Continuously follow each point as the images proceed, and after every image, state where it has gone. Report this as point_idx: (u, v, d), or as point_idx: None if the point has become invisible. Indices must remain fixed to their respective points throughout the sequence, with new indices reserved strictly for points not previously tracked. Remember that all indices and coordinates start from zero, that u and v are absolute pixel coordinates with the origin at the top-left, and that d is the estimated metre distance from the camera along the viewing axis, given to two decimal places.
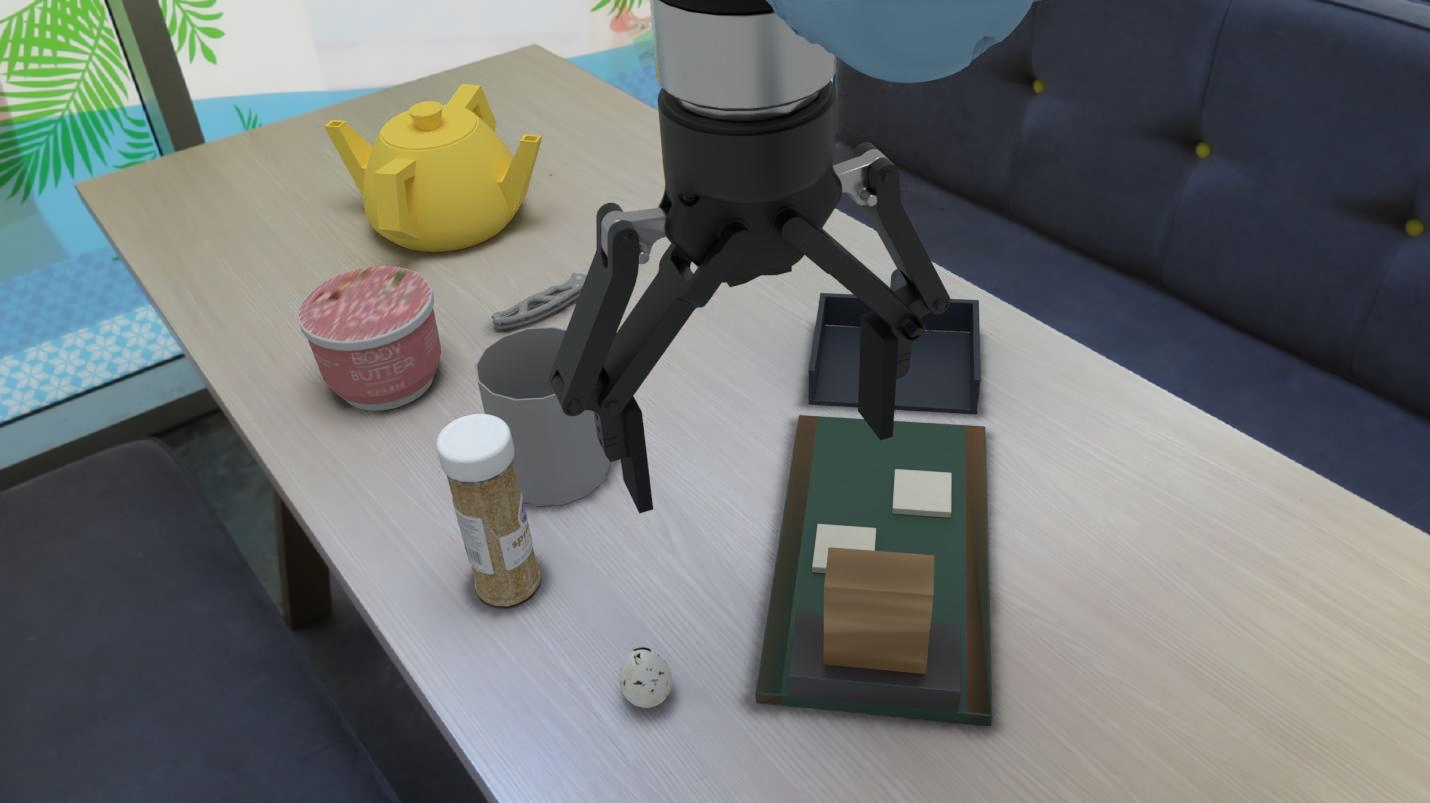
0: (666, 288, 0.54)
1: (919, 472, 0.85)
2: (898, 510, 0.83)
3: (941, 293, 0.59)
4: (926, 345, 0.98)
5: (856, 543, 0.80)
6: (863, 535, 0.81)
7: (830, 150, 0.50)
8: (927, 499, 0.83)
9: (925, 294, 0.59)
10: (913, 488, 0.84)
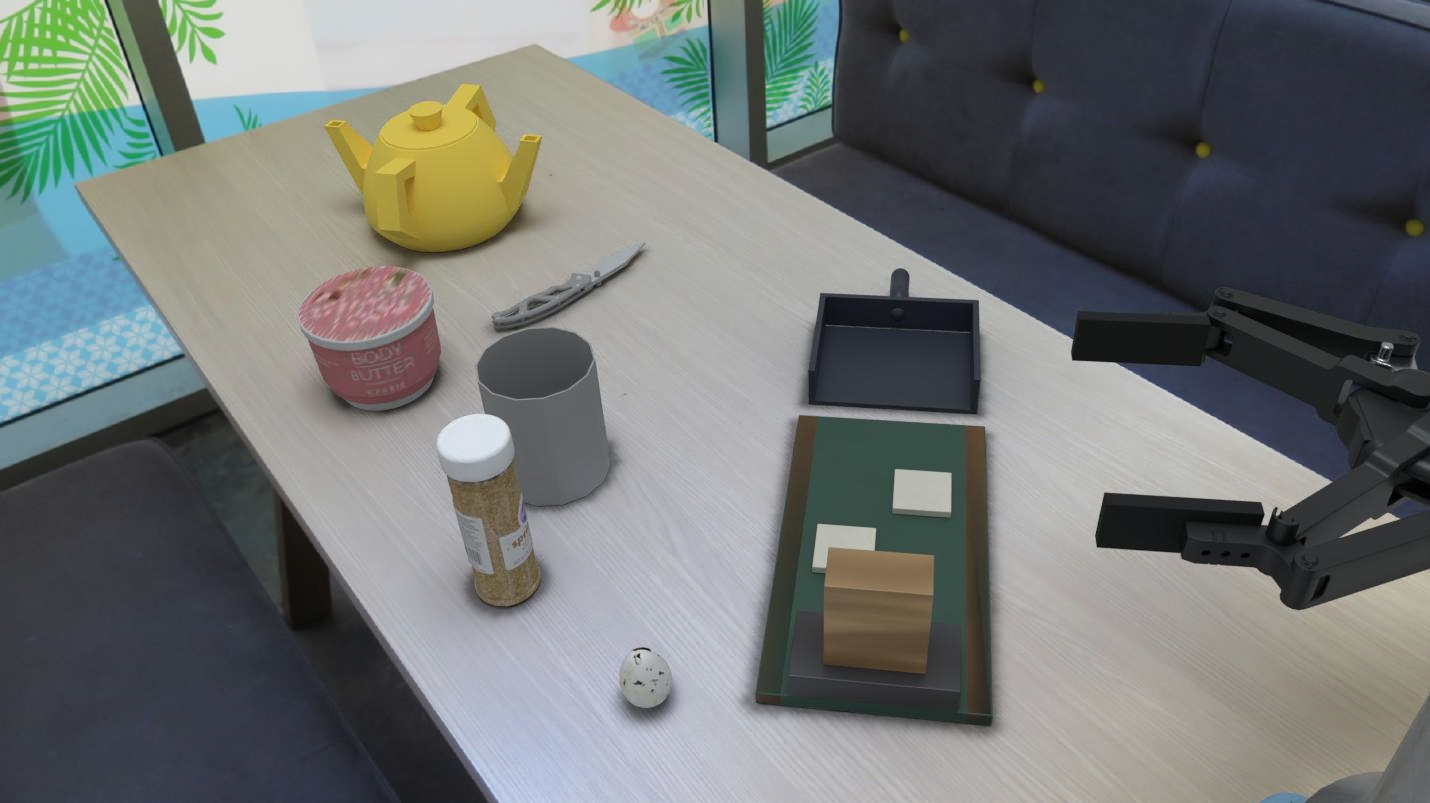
0: None
1: (919, 472, 0.85)
2: (898, 510, 0.83)
3: (1326, 562, 0.49)
4: (926, 345, 0.98)
5: (856, 543, 0.80)
6: (863, 535, 0.81)
7: None
8: (927, 499, 0.83)
9: (1326, 546, 0.49)
10: (913, 488, 0.84)
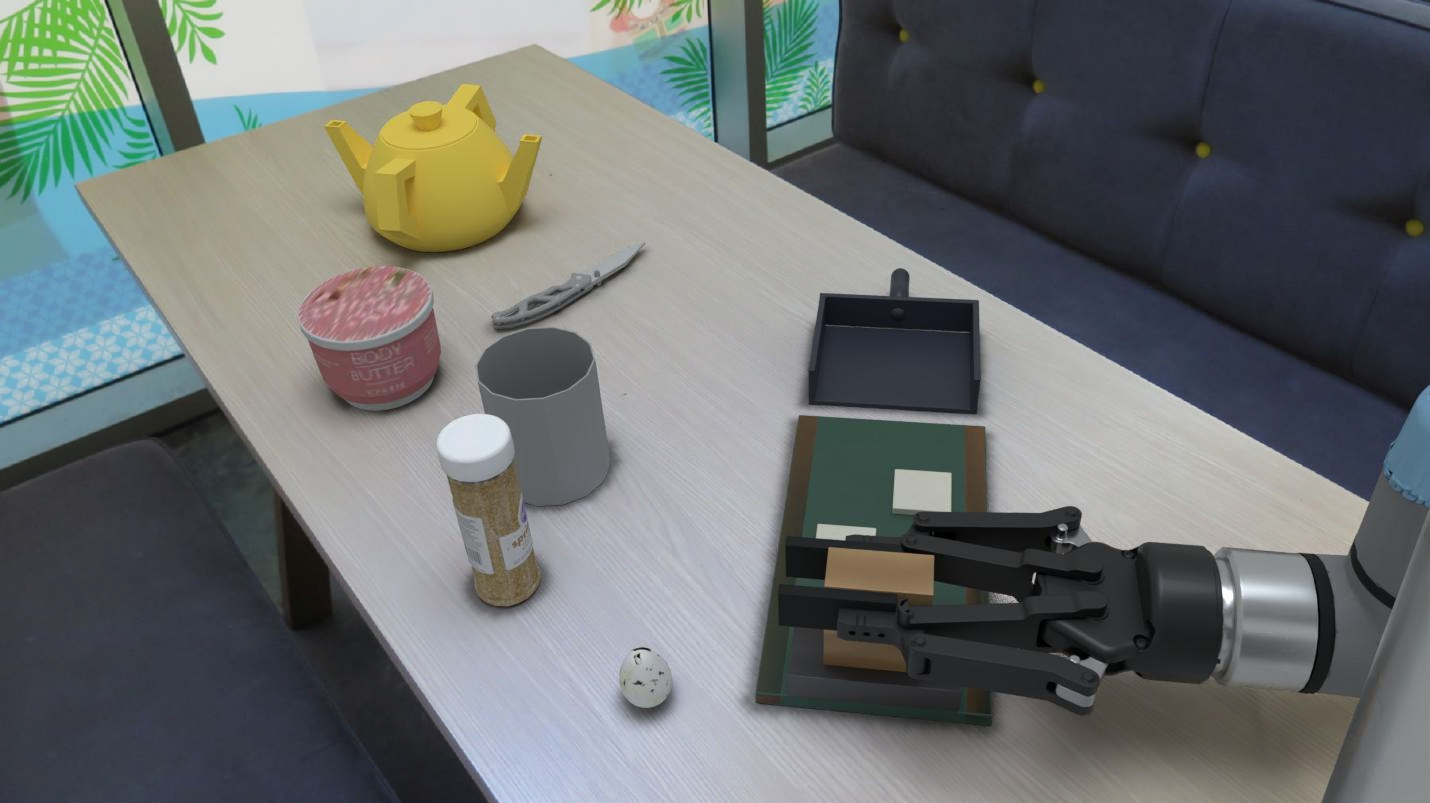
0: None
1: (919, 472, 0.85)
2: (898, 510, 0.83)
3: (929, 648, 0.63)
4: (926, 345, 0.98)
5: None
6: None
7: (1177, 617, 0.62)
8: (927, 499, 0.83)
9: (942, 639, 0.63)
10: (913, 488, 0.84)
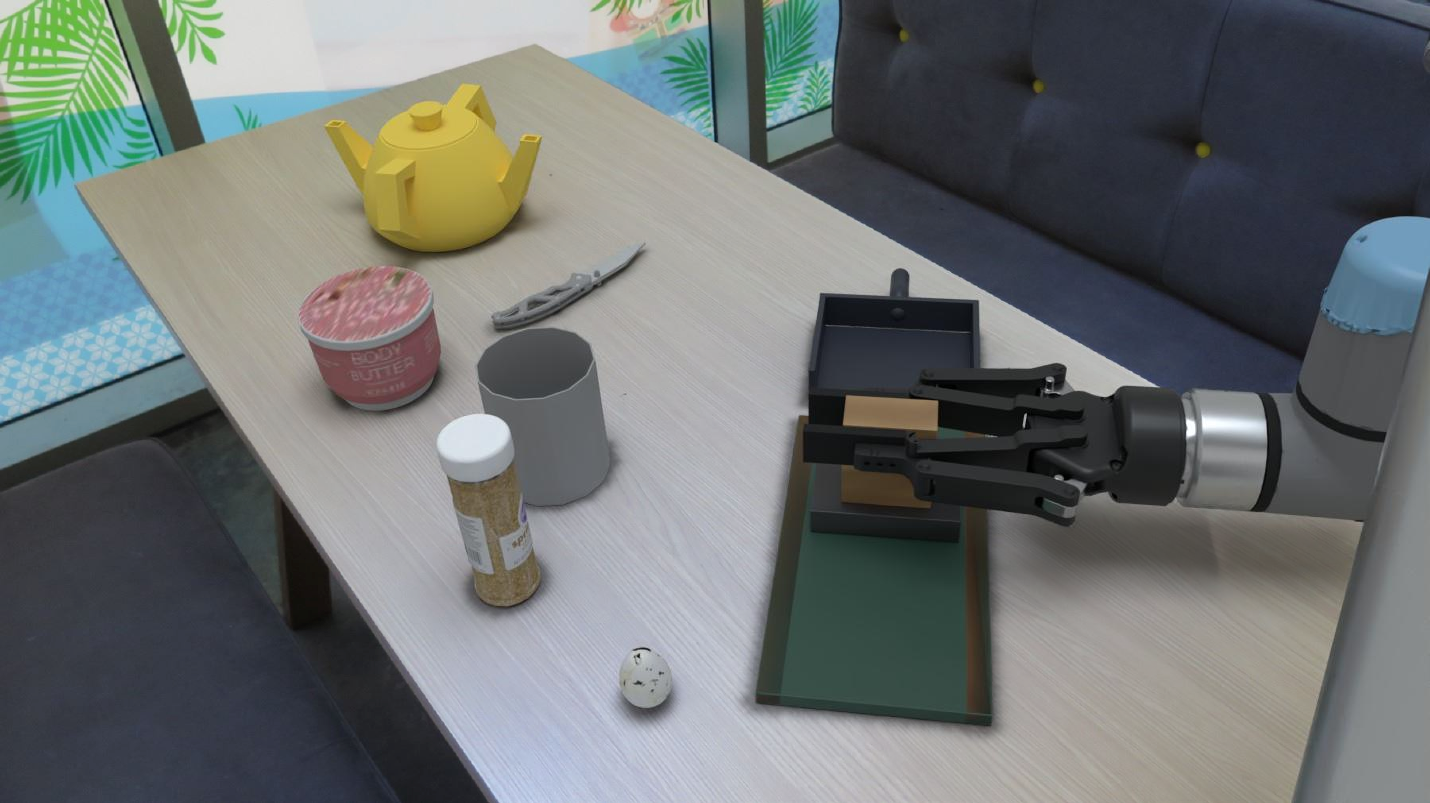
0: None
1: None
2: None
3: (934, 470, 0.73)
4: (926, 345, 0.98)
5: None
6: None
7: (1146, 442, 0.72)
8: None
9: (945, 464, 0.74)
10: None
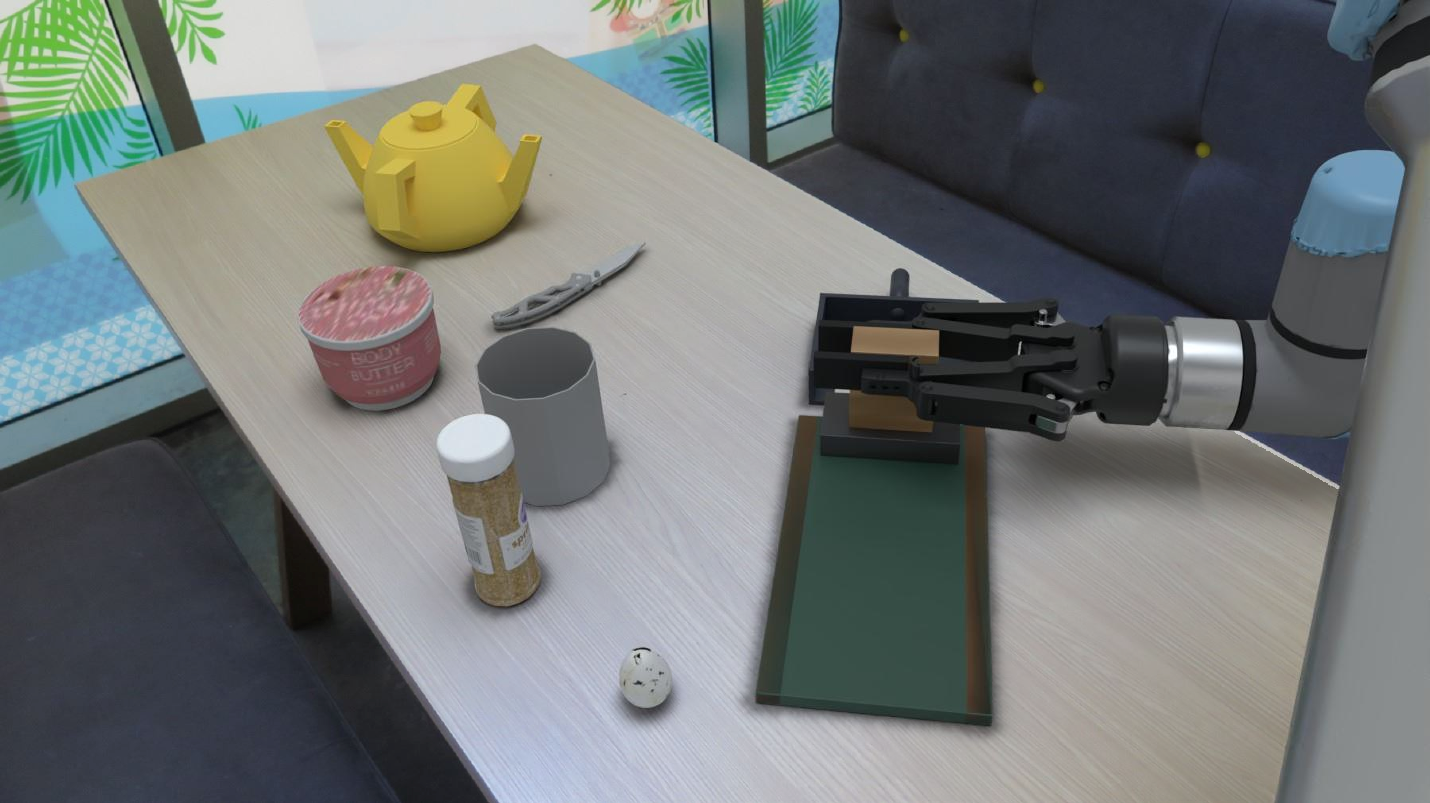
0: None
1: None
2: None
3: (935, 391, 0.79)
4: None
5: None
6: None
7: (1132, 363, 0.78)
8: None
9: (945, 385, 0.80)
10: None
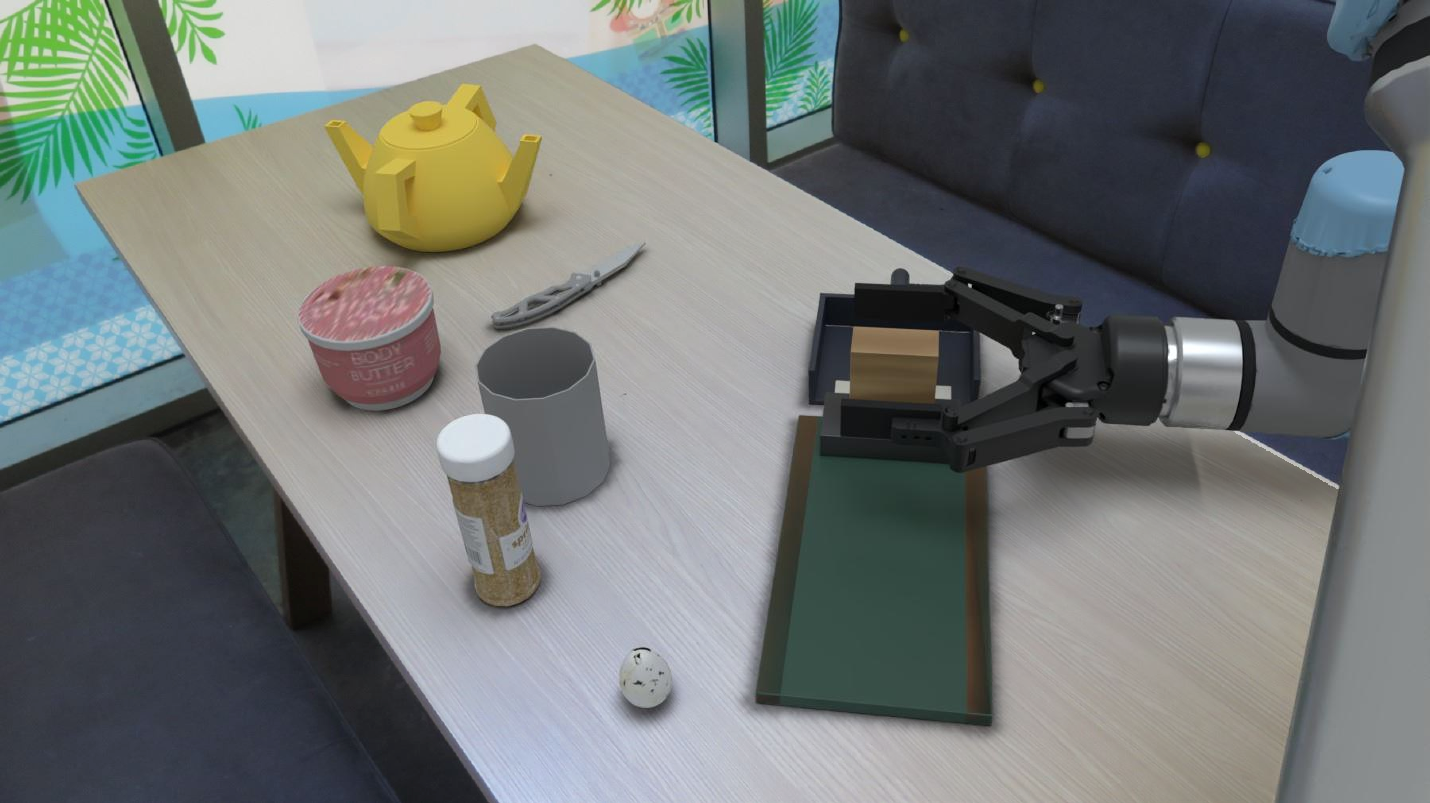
0: None
1: None
2: None
3: (972, 439, 0.75)
4: None
5: None
6: None
7: (1131, 363, 0.78)
8: None
9: (975, 430, 0.76)
10: None
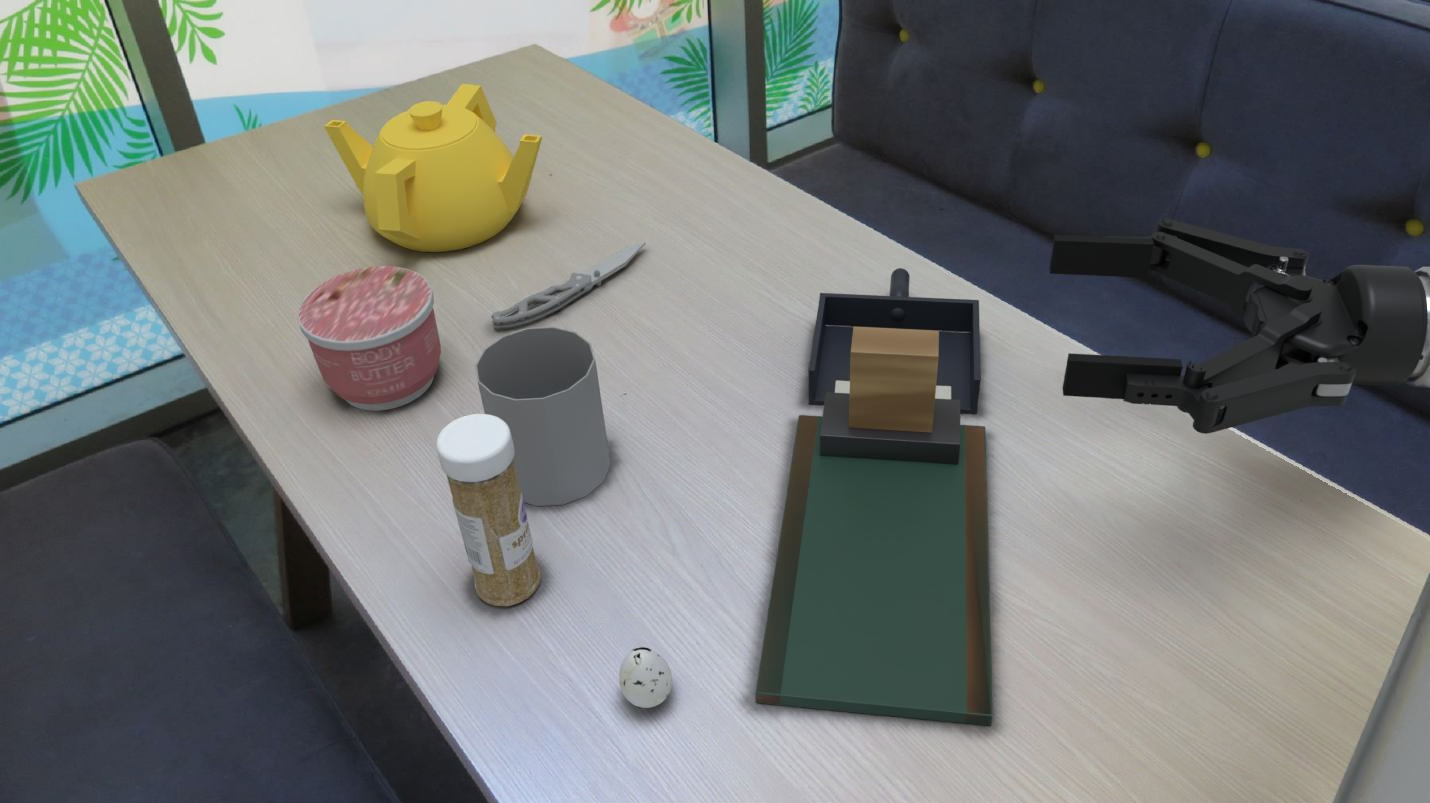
0: None
1: None
2: None
3: (1223, 396, 0.69)
4: None
5: None
6: None
7: (1388, 315, 0.71)
8: None
9: (1225, 386, 0.69)
10: None
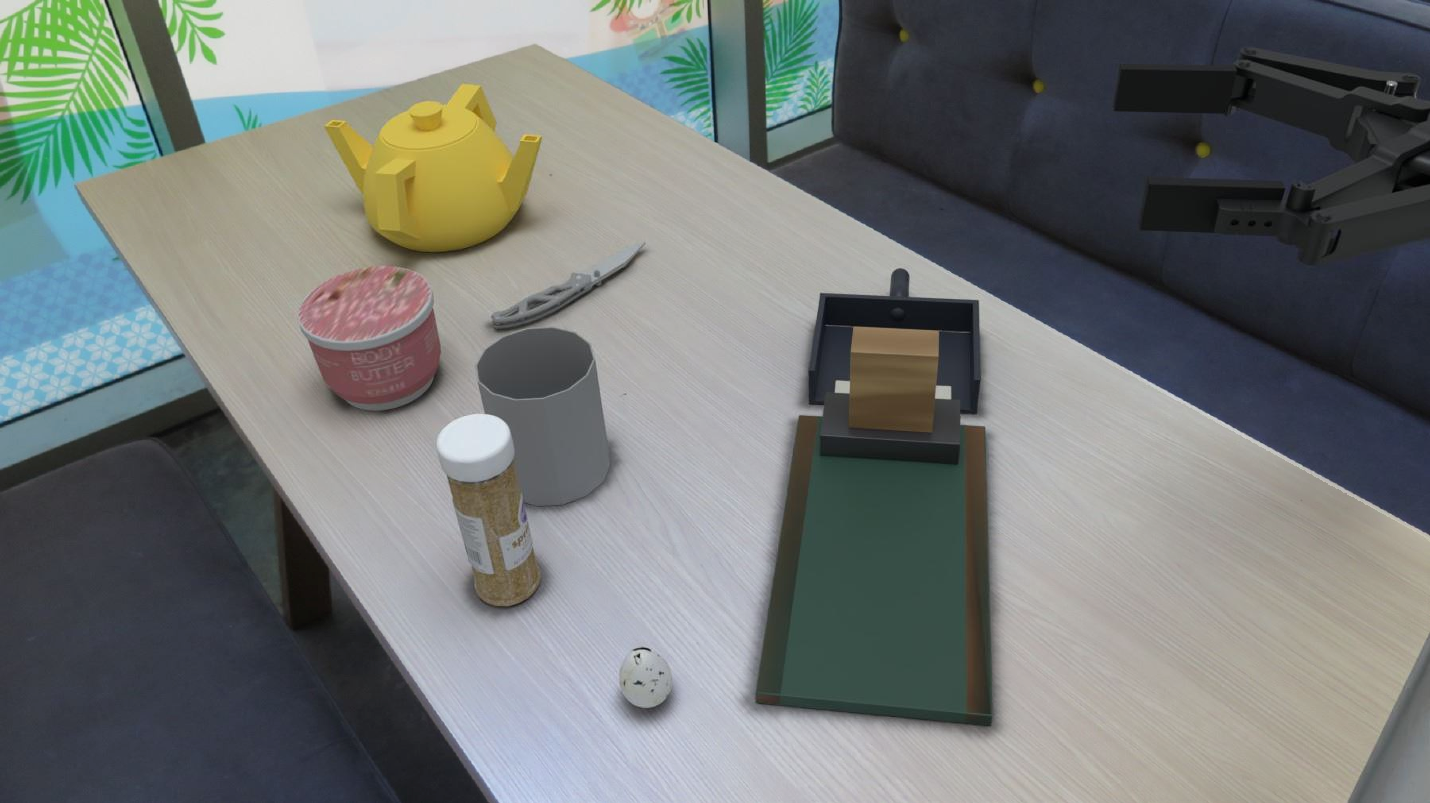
0: None
1: None
2: None
3: (1338, 217, 0.57)
4: None
5: None
6: None
7: None
8: None
9: (1338, 208, 0.58)
10: None
